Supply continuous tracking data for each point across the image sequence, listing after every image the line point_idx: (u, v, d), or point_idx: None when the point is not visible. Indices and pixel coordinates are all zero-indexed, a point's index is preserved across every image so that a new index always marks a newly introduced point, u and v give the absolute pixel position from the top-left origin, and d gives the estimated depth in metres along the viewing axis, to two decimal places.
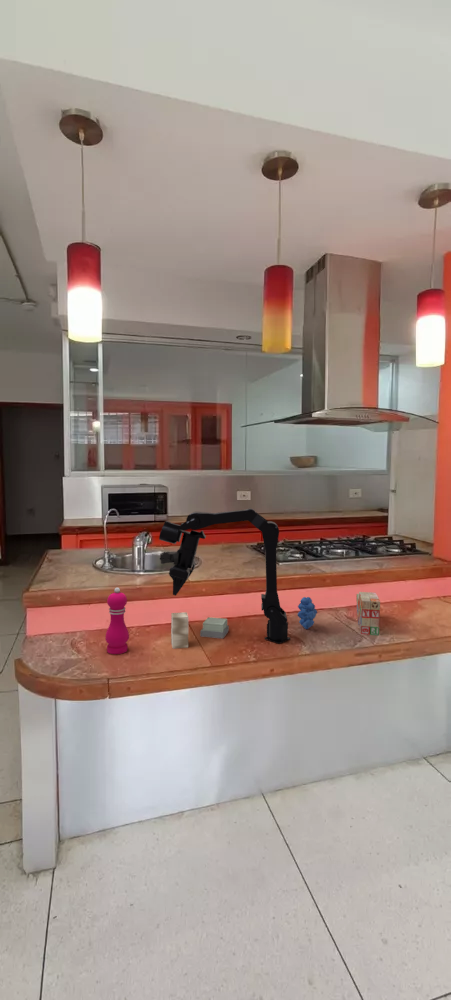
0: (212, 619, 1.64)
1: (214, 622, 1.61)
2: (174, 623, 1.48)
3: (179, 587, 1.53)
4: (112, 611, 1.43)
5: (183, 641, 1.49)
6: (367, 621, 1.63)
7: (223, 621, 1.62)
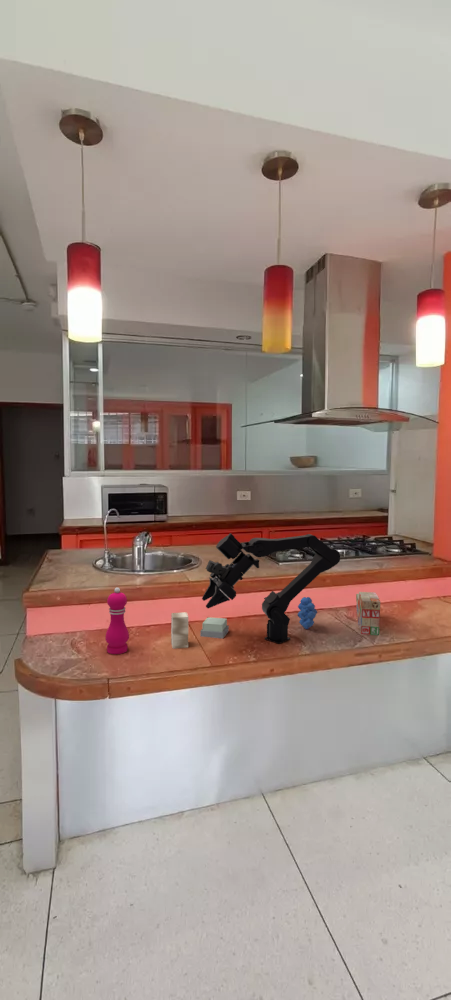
0: (212, 619, 1.64)
1: (213, 622, 1.61)
2: (174, 623, 1.48)
3: (216, 603, 1.47)
4: (112, 611, 1.43)
5: (183, 641, 1.49)
6: (368, 621, 1.63)
7: (223, 621, 1.62)
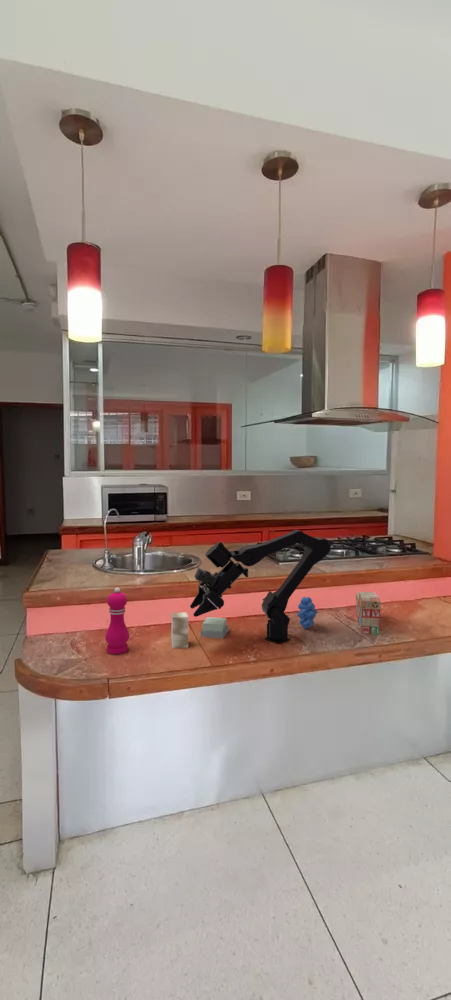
0: (211, 619, 1.64)
1: (213, 622, 1.61)
2: (174, 623, 1.48)
3: (204, 611, 1.46)
4: (112, 611, 1.43)
5: (183, 641, 1.49)
6: (368, 621, 1.64)
7: (222, 621, 1.62)
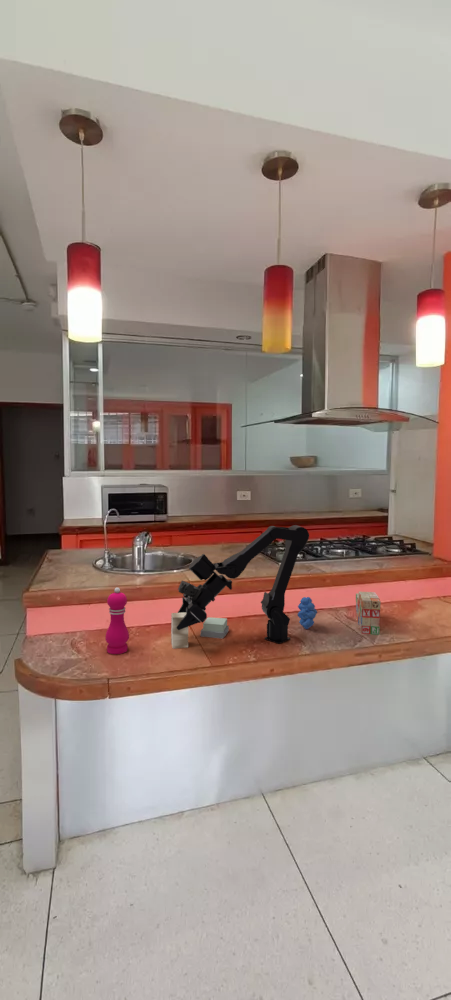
0: (212, 619, 1.65)
1: (214, 622, 1.61)
2: (174, 623, 1.48)
3: (187, 624, 1.46)
4: (112, 611, 1.43)
5: (183, 641, 1.49)
6: (368, 621, 1.64)
7: (223, 621, 1.62)
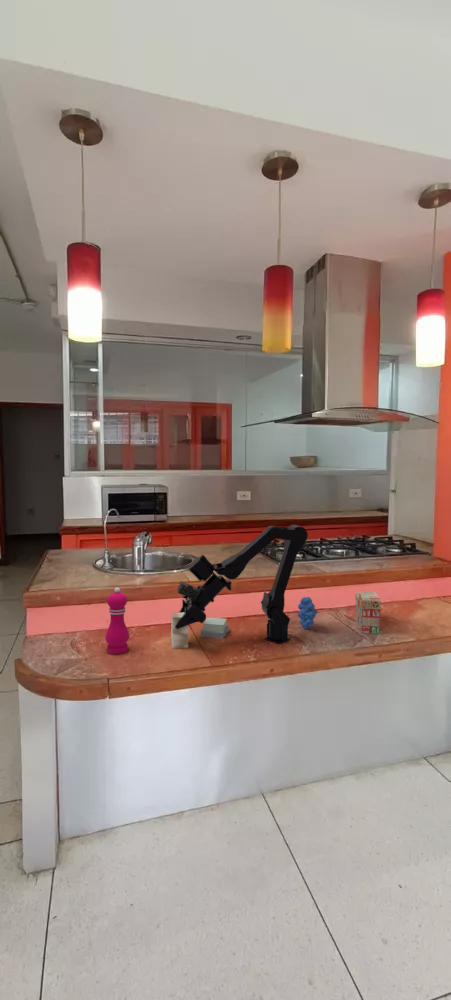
0: (212, 619, 1.64)
1: (214, 622, 1.61)
2: (174, 623, 1.48)
3: (186, 623, 1.48)
4: (112, 611, 1.43)
5: (183, 641, 1.49)
6: (368, 621, 1.64)
7: (223, 621, 1.62)
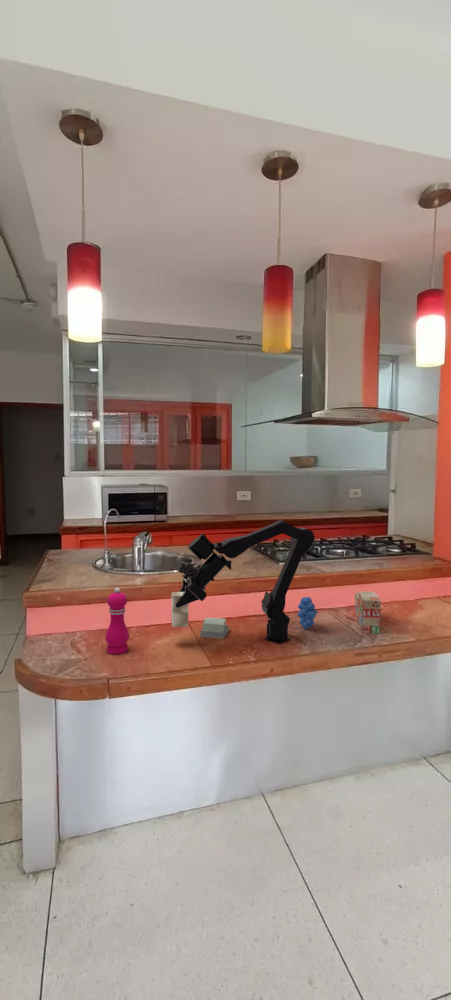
0: (211, 619, 1.64)
1: (213, 622, 1.61)
2: (174, 602, 1.48)
3: (186, 602, 1.47)
4: (112, 611, 1.43)
5: (183, 619, 1.49)
6: (368, 621, 1.64)
7: (222, 621, 1.62)
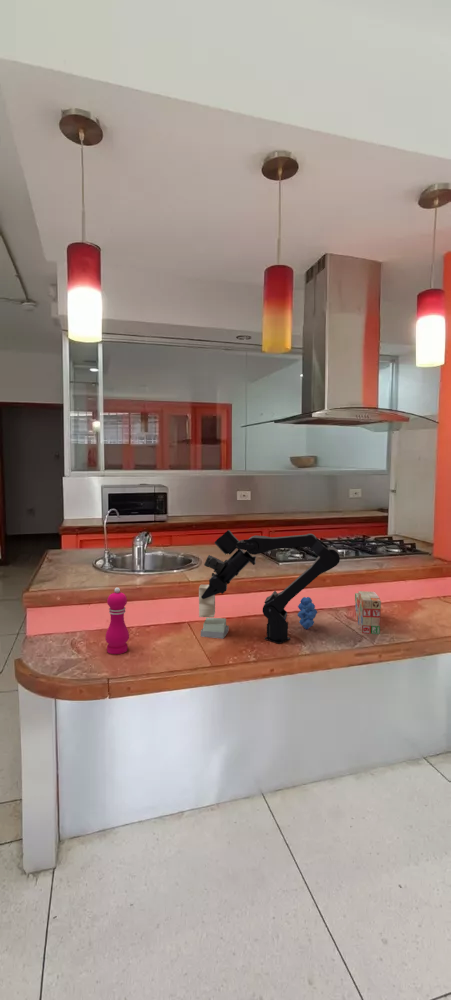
0: (211, 619, 1.64)
1: (214, 622, 1.61)
2: (200, 593, 1.58)
3: (210, 594, 1.56)
4: (112, 611, 1.43)
5: (208, 610, 1.58)
6: (368, 620, 1.64)
7: (223, 621, 1.62)
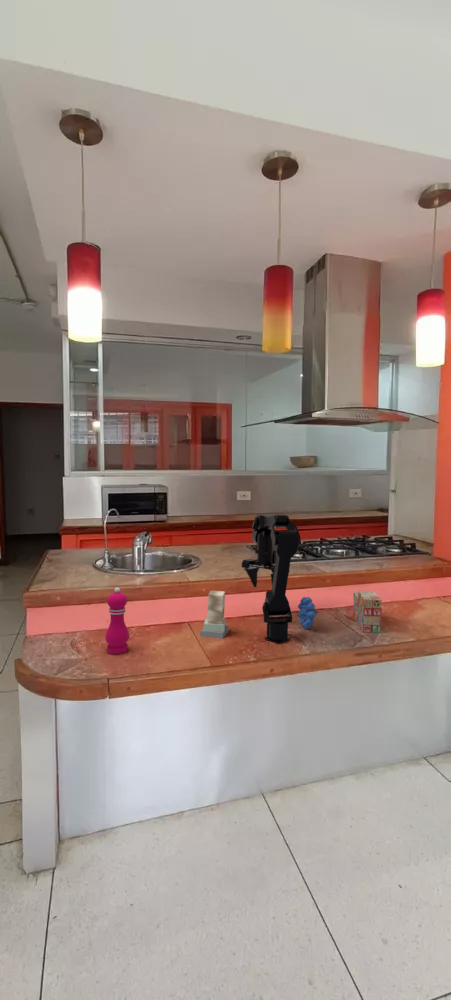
0: None
1: None
2: (209, 600, 1.59)
3: None
4: (112, 611, 1.43)
5: (217, 617, 1.59)
6: (369, 620, 1.65)
7: (223, 621, 1.63)
